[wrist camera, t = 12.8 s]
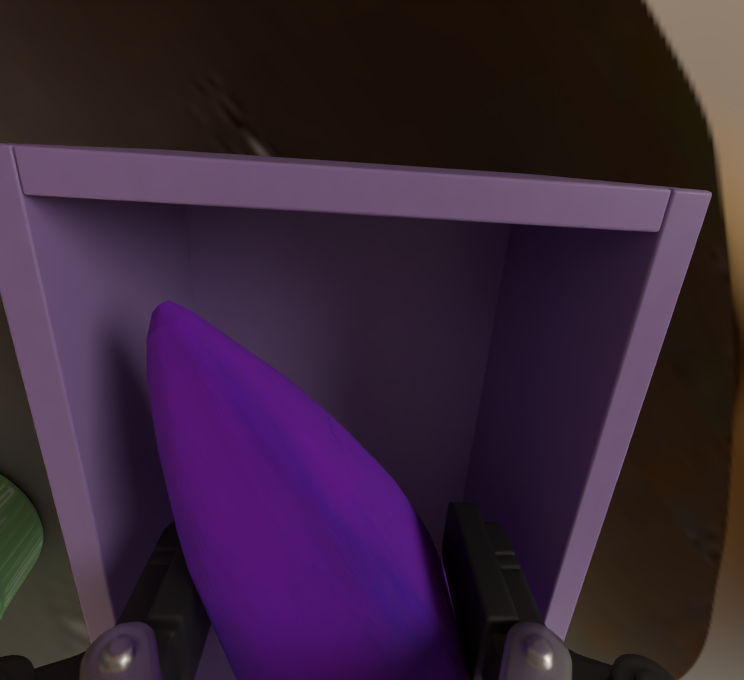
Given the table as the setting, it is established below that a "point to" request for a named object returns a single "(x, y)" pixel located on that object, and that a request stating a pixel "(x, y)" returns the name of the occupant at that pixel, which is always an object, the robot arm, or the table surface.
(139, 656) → the robot arm
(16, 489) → the ramekin
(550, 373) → the file box
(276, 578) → the purple teardrop shape
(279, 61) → the table surface
